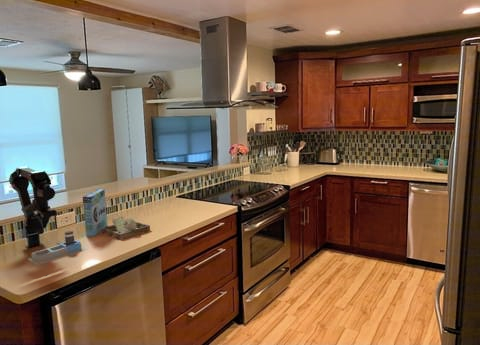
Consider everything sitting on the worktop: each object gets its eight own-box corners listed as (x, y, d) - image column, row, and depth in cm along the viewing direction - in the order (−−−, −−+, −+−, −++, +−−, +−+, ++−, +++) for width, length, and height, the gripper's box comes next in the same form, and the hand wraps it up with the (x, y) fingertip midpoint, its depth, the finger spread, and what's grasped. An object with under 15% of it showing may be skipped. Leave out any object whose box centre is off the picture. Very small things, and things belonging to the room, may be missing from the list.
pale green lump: (138, 239, 202) (141, 216, 212) (131, 232, 197) (134, 210, 207) (115, 246, 206) (119, 223, 216) (107, 240, 201) (111, 217, 211)
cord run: (56, 245, 190) (55, 243, 190) (58, 244, 191) (58, 242, 191) (64, 249, 184) (64, 247, 184) (66, 248, 185) (66, 246, 185)
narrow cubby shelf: (27, 260, 171) (26, 251, 170) (75, 246, 188) (74, 237, 188) (37, 267, 163) (36, 257, 163) (86, 251, 181) (85, 242, 180)
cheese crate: (102, 233, 208) (102, 228, 207) (131, 224, 222) (130, 220, 222) (121, 239, 196) (120, 234, 195) (150, 230, 210) (149, 225, 209)
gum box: (100, 226, 222) (96, 189, 218) (108, 225, 222) (104, 189, 218) (85, 236, 203) (81, 196, 199) (94, 236, 203) (90, 196, 199)
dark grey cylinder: (64, 250, 180) (62, 232, 179) (73, 247, 184) (71, 230, 182) (68, 251, 178) (66, 234, 176) (77, 249, 181) (75, 231, 179)
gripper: (14, 197, 175) (19, 228, 177) (30, 203, 163) (34, 236, 166) (39, 193, 183) (43, 223, 186) (55, 198, 171) (59, 229, 174)
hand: (44, 228), depth 178 cm, fingers closed
